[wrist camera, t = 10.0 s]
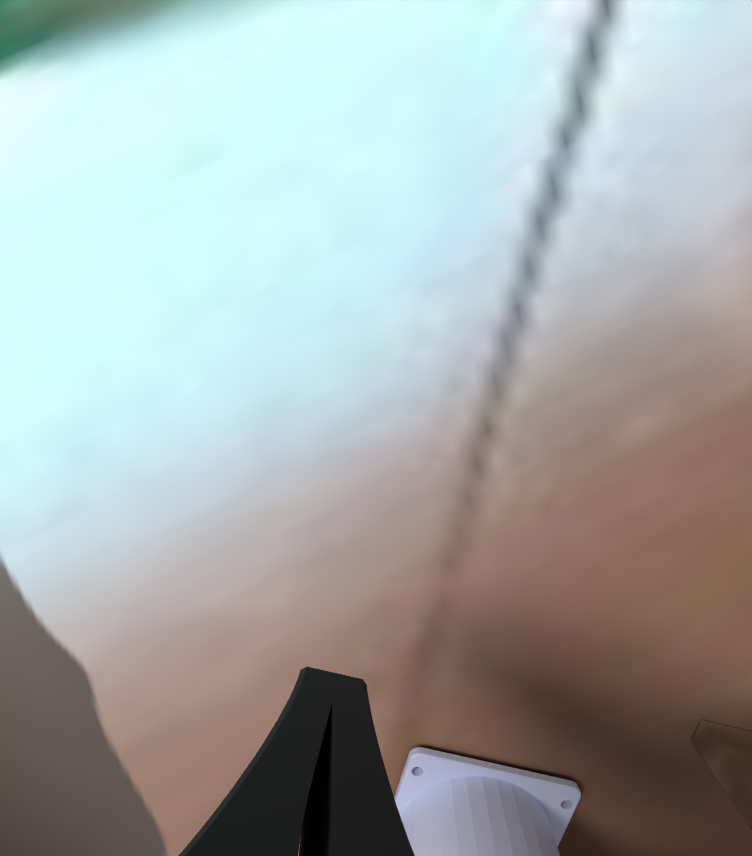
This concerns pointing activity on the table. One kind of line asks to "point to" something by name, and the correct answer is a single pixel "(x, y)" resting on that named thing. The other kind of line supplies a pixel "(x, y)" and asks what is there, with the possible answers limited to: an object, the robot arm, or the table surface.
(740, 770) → the wooden tray
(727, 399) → the table surface
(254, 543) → the table surface
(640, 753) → the table surface
